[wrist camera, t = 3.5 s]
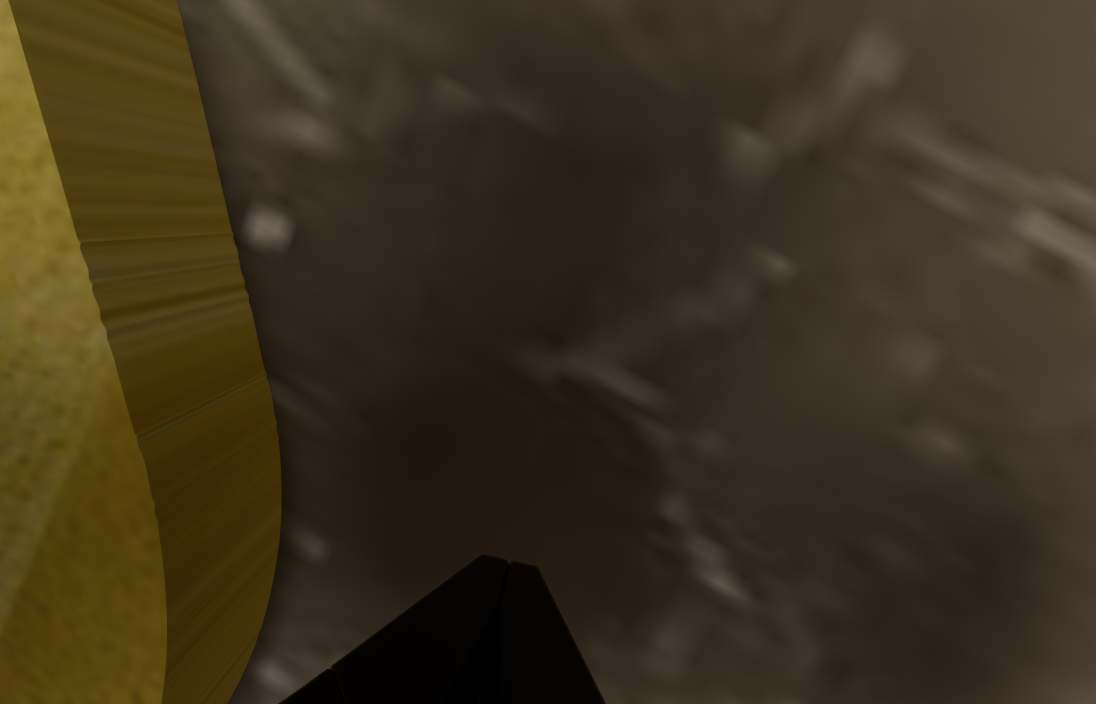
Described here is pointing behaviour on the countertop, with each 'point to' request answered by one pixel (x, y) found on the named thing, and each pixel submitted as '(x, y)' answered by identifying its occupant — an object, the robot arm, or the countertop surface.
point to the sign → (123, 373)
